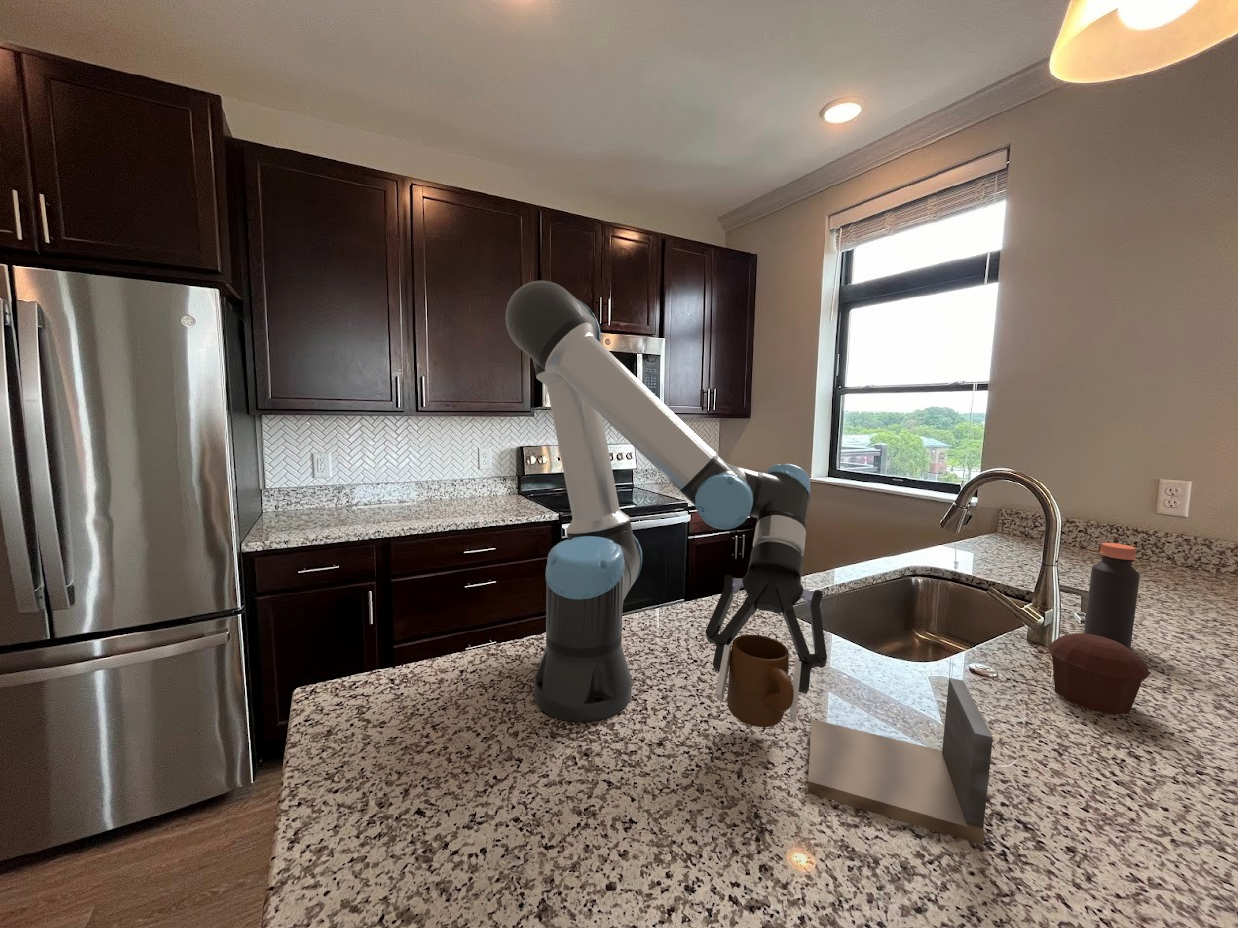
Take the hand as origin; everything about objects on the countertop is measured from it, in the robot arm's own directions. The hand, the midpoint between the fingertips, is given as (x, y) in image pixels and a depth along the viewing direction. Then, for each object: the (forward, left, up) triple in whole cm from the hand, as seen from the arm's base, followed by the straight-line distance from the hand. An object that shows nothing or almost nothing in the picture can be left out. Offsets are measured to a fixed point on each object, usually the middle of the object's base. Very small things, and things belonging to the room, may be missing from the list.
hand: (755, 707), depth 62 cm
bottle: (+61, +65, -7) cm, 89 cm away
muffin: (+48, +37, -7) cm, 61 cm away
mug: (+1, +3, -4) cm, 5 cm away
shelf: (+15, +3, -7) cm, 17 cm away
